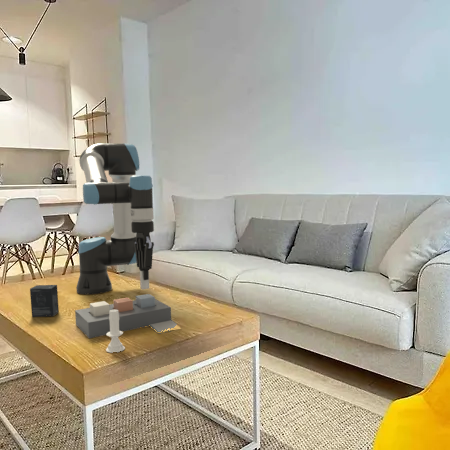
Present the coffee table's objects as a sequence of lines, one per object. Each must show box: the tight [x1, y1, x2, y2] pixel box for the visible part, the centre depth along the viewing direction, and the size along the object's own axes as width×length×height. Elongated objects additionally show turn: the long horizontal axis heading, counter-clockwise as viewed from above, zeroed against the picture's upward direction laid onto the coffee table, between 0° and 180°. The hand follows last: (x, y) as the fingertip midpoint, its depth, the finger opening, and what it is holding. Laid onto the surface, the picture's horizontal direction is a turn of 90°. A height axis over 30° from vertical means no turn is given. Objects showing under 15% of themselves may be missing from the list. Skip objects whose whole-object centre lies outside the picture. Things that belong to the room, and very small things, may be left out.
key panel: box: [74, 298, 172, 339], centre depth 149 cm, size 16×28×5 cm, turn 123°
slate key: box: [135, 293, 156, 308], centre depth 153 cm, size 5×5×4 cm
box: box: [29, 284, 60, 318], centre depth 160 cm, size 8×6×11 cm
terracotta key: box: [112, 297, 133, 312], centre depth 149 cm, size 5×5×4 cm
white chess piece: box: [105, 309, 126, 354], centre depth 125 cm, size 5×5×12 cm
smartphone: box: [149, 319, 178, 333], centre depth 147 cm, size 8×1×15 cm
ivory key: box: [89, 300, 110, 317], centre depth 144 cm, size 5×5×4 cm
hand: (145, 288), depth 152 cm, fingers closed
